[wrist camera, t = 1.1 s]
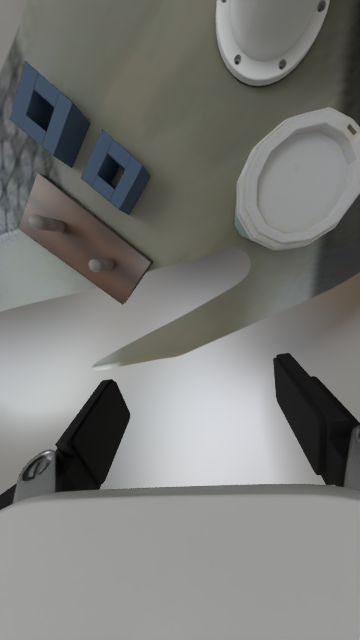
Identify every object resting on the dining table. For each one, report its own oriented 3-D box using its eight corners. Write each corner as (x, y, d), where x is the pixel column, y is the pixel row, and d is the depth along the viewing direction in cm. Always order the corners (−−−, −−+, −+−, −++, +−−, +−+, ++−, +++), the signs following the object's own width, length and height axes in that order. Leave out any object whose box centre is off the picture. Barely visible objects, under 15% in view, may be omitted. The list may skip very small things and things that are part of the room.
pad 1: (50, 88, 26) (24, 60, 22) (89, 123, 27) (72, 102, 23) (34, 136, 28) (9, 119, 24) (71, 167, 29) (53, 155, 25)
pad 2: (114, 145, 27) (101, 128, 24) (150, 176, 28) (142, 165, 25) (95, 187, 29) (80, 178, 26) (128, 214, 30) (119, 209, 27)
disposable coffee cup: (252, 264, 32) (296, 275, 18) (206, 222, 30) (214, 196, 16) (303, 209, 28) (409, 167, 14) (254, 158, 26) (319, 52, 12)
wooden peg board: (45, 175, 30) (2, 154, 23) (153, 261, 33) (142, 264, 26) (25, 229, 33) (-17, 224, 26) (125, 302, 36) (109, 313, 30)
